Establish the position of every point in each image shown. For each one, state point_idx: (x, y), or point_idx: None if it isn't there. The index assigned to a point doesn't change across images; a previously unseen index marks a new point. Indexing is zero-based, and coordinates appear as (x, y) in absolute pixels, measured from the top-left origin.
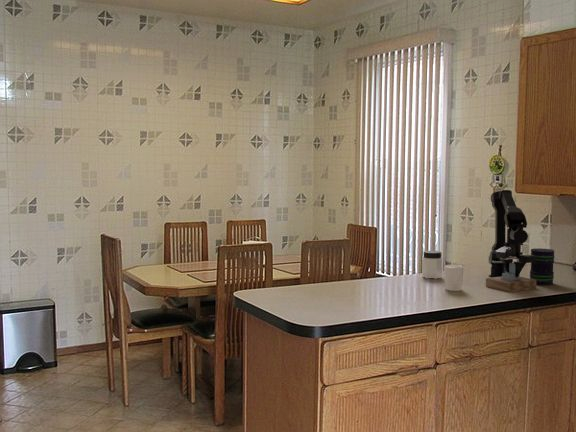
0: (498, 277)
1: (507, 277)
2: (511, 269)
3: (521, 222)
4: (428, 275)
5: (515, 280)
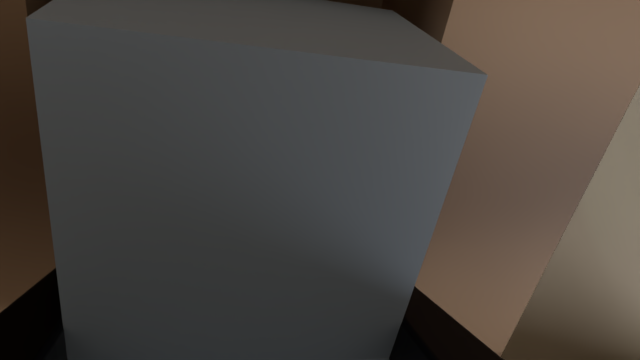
0: (557, 114)
1: (187, 5)
2: None
3: None
4: None
5: (9, 133)
